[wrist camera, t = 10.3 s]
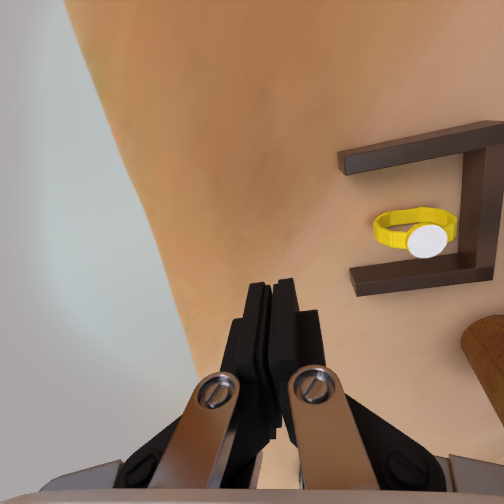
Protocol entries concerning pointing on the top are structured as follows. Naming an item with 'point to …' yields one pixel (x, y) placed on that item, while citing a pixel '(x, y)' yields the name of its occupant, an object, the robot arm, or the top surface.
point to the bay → (471, 213)
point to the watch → (417, 230)
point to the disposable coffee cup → (487, 357)
